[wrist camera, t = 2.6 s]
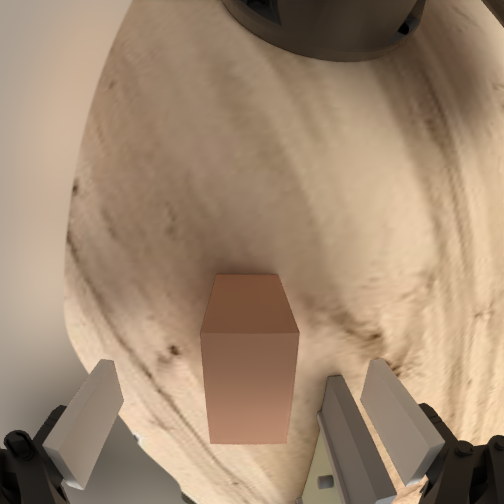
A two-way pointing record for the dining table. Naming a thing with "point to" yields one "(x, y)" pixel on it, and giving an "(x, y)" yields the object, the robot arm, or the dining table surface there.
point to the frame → (352, 449)
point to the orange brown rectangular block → (248, 360)
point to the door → (320, 479)
